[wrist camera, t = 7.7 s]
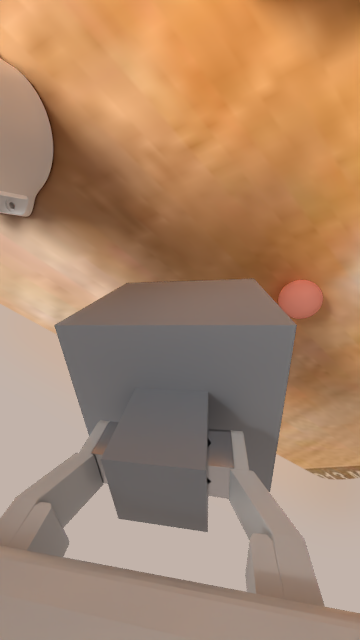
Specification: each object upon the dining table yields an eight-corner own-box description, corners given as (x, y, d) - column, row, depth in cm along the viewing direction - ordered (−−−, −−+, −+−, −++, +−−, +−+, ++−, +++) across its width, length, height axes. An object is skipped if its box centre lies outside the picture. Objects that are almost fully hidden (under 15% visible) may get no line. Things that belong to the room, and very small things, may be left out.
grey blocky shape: (142, 381, 21) (65, 548, 10) (127, 282, 17) (-27, 372, 6) (246, 386, 20) (291, 589, 8) (253, 278, 16) (355, 388, 5)
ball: (272, 311, 31) (282, 324, 26) (276, 277, 29) (287, 285, 24) (309, 310, 30) (326, 324, 25) (315, 275, 28) (335, 283, 23)
